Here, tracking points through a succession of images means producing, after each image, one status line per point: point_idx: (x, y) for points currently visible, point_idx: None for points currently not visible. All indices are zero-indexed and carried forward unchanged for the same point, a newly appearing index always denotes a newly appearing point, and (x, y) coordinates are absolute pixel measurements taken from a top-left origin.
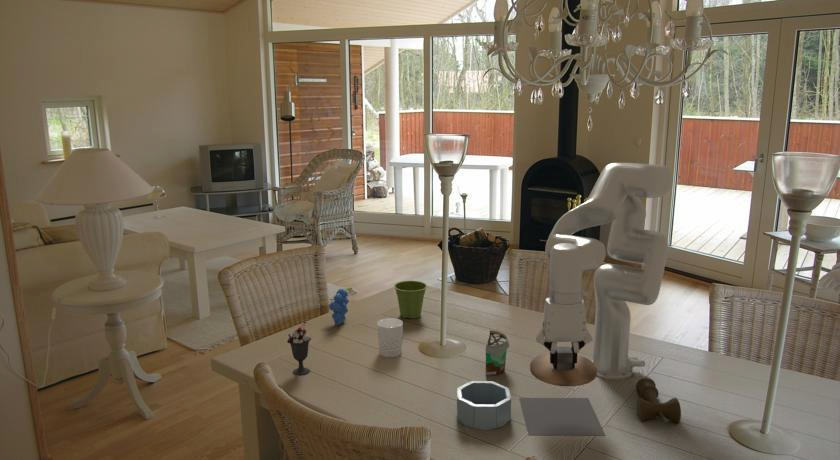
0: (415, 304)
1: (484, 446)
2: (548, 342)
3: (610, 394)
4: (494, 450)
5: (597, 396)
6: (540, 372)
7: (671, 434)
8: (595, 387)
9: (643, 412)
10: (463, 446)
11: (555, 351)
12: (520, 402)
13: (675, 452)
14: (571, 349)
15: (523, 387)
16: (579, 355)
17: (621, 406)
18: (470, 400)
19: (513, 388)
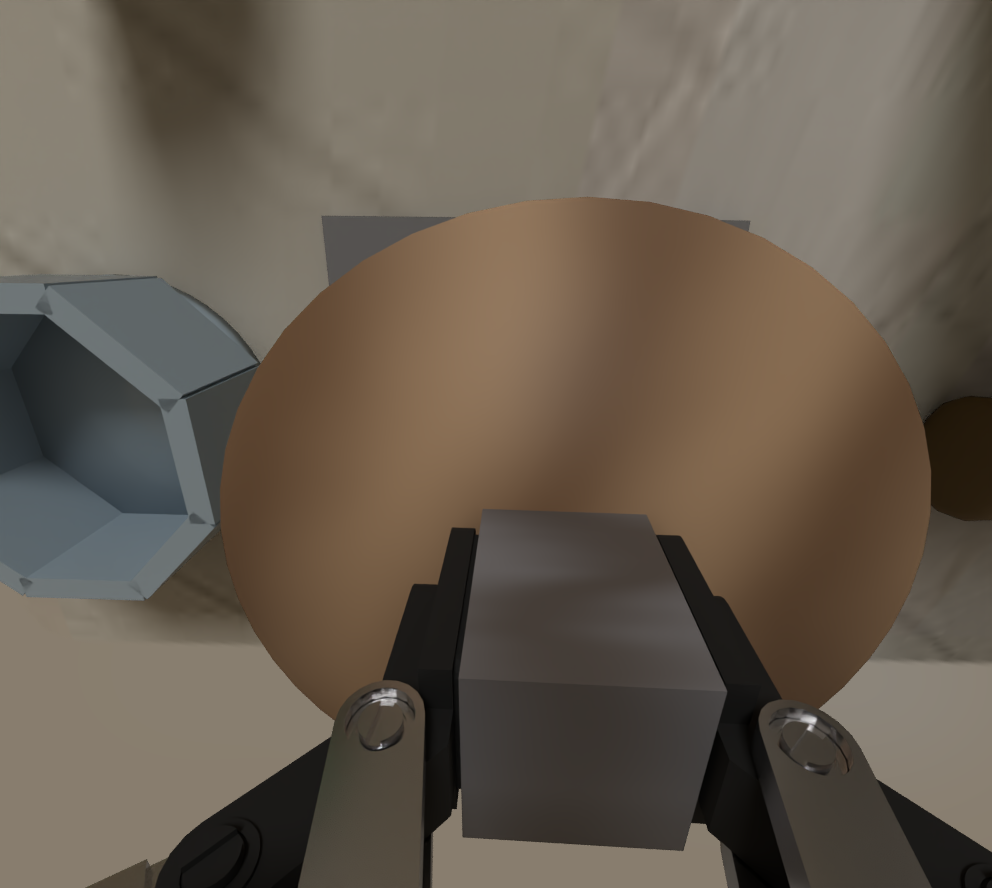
0: None
1: (195, 613)
2: (281, 884)
3: (926, 142)
4: (235, 634)
5: (825, 172)
6: (324, 655)
7: (977, 558)
8: (879, 18)
9: (955, 516)
10: (118, 611)
11: (432, 833)
12: (329, 278)
13: (900, 661)
14: (713, 761)
15: (357, 21)
16: (866, 324)
17: (904, 306)
18: (25, 316)
19: (287, 40)
